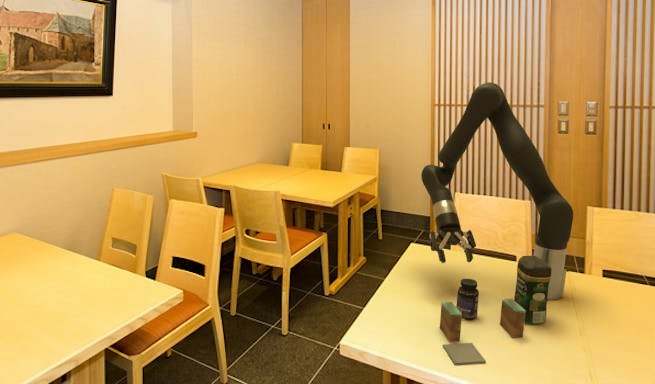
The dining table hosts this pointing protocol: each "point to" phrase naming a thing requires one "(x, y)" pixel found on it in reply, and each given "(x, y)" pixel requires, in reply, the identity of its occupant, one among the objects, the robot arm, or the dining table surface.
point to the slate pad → (463, 354)
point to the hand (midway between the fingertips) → (457, 261)
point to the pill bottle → (468, 299)
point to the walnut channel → (509, 319)
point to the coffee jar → (532, 288)
